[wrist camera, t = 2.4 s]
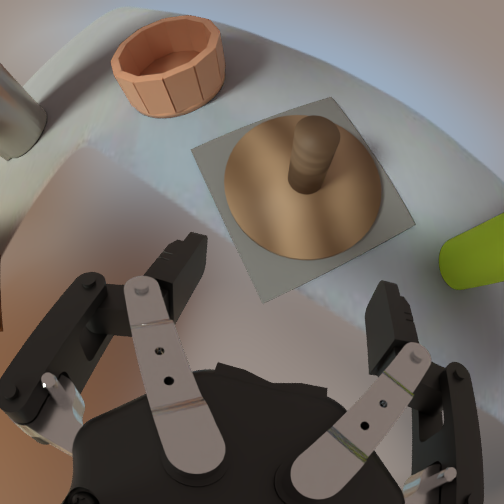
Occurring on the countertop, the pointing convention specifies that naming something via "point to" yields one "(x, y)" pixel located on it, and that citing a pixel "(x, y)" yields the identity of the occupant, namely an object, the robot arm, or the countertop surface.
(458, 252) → the soap dispenser
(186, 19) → the bowl
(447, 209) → the countertop surface
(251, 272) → the mat
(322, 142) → the lid
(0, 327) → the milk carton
